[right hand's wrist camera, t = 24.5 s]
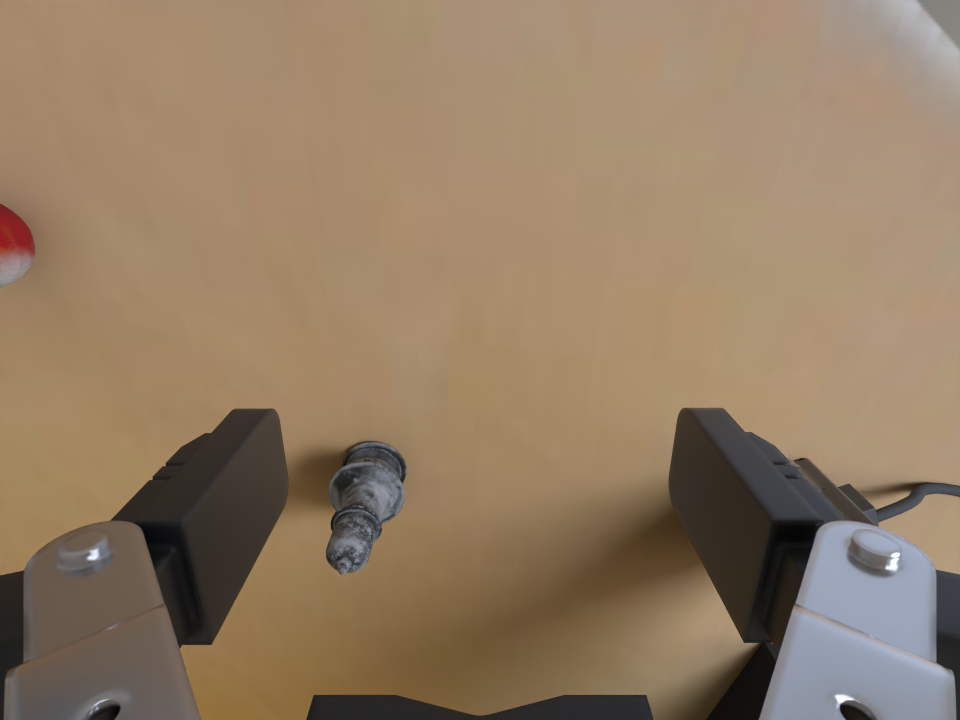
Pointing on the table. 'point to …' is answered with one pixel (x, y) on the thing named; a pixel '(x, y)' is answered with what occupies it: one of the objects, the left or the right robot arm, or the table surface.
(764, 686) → the cardboard box
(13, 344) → the table surface
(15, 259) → the eyeball
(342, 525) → the grey tall turned piece
